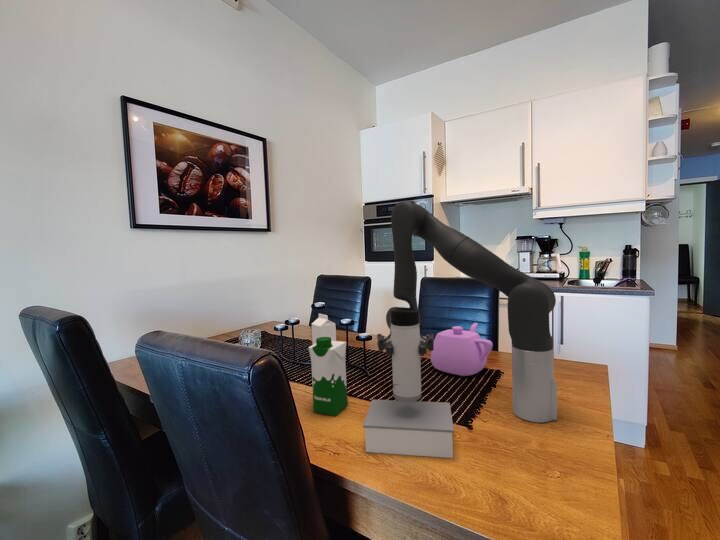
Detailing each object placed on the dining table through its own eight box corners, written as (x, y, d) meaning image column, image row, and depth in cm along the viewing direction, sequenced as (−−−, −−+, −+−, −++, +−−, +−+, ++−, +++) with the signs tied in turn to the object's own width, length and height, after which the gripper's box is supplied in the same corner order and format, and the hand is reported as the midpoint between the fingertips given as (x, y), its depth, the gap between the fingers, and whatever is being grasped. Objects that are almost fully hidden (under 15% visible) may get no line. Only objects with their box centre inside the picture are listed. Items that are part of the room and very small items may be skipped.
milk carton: (308, 413, 92) (304, 339, 91) (325, 399, 100) (322, 331, 99) (337, 418, 88) (333, 342, 87) (352, 404, 97) (349, 333, 96)
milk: (323, 382, 113) (319, 316, 112) (314, 377, 118) (310, 314, 117) (338, 378, 117) (335, 314, 116) (329, 373, 122) (325, 311, 120)
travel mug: (389, 400, 75) (386, 310, 74) (397, 388, 81) (394, 305, 80) (417, 404, 73) (415, 311, 71) (423, 392, 79) (421, 306, 78)
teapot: (481, 385, 105) (479, 337, 105) (424, 370, 121) (422, 328, 120) (511, 366, 121) (510, 323, 120) (457, 354, 136) (456, 317, 136)
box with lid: (450, 427, 82) (449, 402, 82) (454, 459, 70) (453, 430, 69) (373, 423, 85) (372, 399, 85) (364, 452, 73) (362, 425, 73)
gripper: (376, 318, 91) (372, 335, 75) (431, 317, 90) (439, 334, 73) (377, 346, 92) (373, 368, 75) (432, 345, 90) (440, 368, 73)
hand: (406, 351), depth 74 cm, fingers closed on travel mug, 6 cm apart
